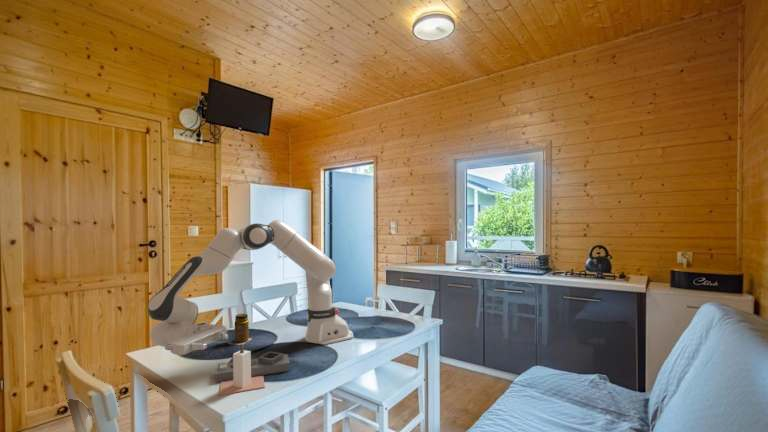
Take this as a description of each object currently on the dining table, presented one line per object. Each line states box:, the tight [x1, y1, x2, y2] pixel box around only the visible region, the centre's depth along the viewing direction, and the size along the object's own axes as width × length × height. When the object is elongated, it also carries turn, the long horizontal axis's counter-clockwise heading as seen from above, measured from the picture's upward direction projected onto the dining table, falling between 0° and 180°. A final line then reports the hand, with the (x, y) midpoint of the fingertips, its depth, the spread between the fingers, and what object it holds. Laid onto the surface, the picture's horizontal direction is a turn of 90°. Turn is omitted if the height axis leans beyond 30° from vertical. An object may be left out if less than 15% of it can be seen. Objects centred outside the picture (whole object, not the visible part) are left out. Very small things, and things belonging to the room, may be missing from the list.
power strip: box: [215, 350, 291, 383], centre depth 136 cm, size 25×9×5 cm, turn 111°
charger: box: [232, 344, 252, 388], centre depth 125 cm, size 4×4×14 cm
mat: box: [218, 375, 266, 397], centre depth 125 cm, size 14×9×1 cm, turn 111°
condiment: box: [227, 313, 253, 346], centre depth 168 cm, size 7×8×12 cm
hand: (216, 341), depth 129 cm, fingers open, 8 cm apart
